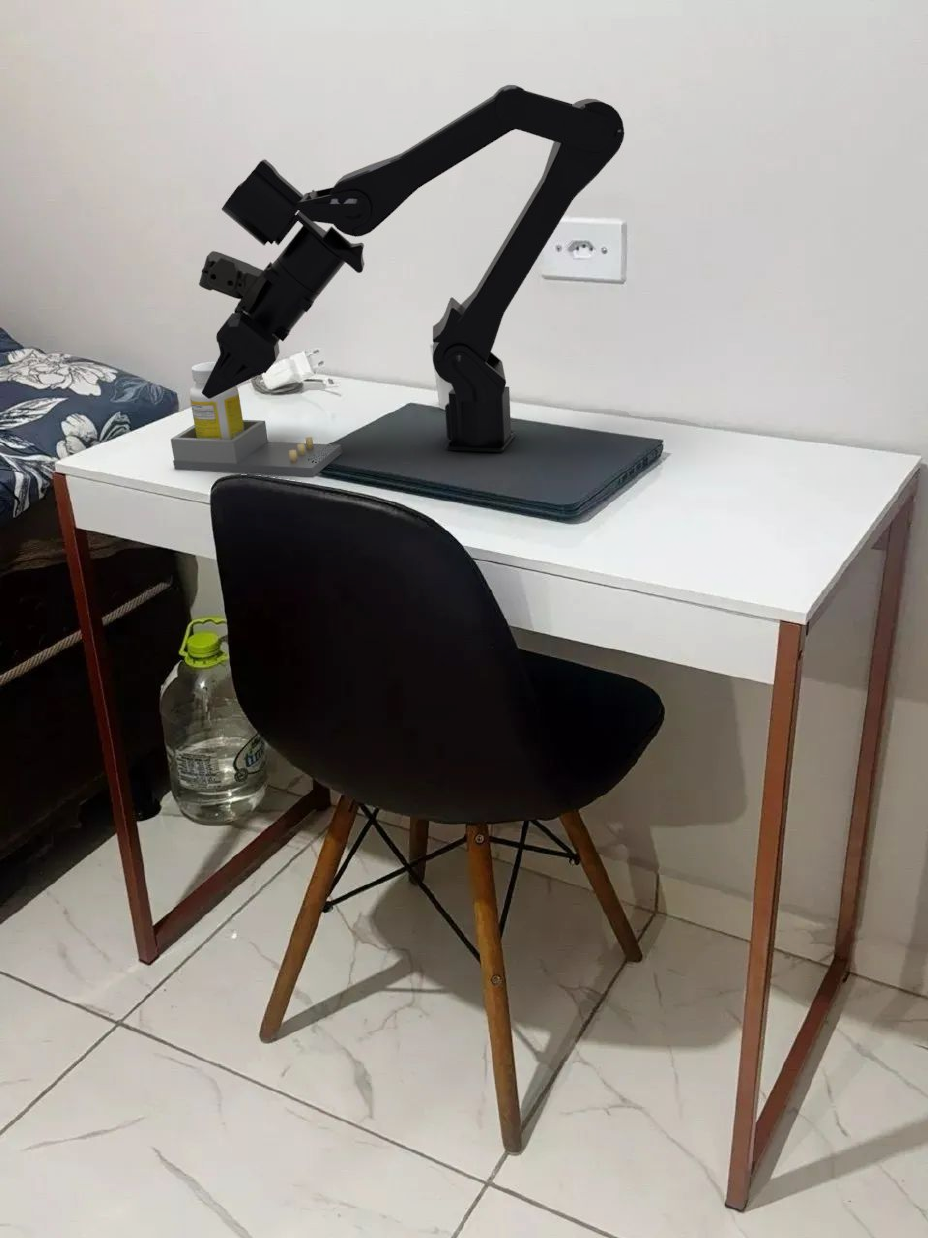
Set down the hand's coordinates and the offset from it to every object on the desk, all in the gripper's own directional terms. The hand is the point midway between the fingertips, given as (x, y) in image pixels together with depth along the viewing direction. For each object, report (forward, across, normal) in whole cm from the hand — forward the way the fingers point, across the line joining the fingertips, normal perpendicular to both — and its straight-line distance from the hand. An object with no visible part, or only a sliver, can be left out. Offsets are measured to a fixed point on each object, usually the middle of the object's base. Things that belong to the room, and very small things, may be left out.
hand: (212, 384), depth 131 cm
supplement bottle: (+6, 0, +6) cm, 8 cm away
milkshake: (-12, -16, +25) cm, 32 cm away
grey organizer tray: (+3, +2, +9) cm, 10 cm away
